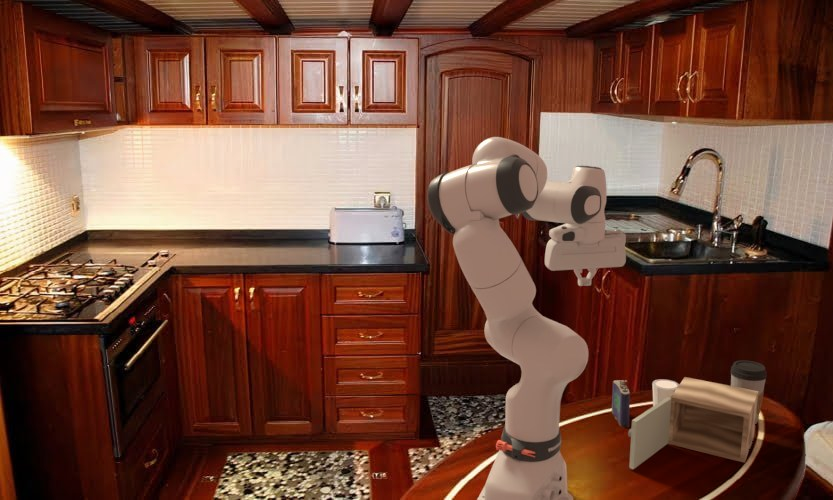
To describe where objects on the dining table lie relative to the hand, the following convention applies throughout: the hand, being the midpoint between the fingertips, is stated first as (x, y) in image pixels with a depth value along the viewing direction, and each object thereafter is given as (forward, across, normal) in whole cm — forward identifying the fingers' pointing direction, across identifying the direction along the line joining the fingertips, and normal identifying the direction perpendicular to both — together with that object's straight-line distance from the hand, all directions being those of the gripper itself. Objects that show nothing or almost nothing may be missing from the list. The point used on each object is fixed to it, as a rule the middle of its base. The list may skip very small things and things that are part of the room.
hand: (584, 285), depth 177 cm
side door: (+35, -7, +23) cm, 42 cm away
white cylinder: (+35, -23, +1) cm, 42 cm away
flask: (+35, -9, +4) cm, 37 cm away
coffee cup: (+35, -39, +12) cm, 54 cm away
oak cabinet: (+35, -26, +19) cm, 48 cm away
